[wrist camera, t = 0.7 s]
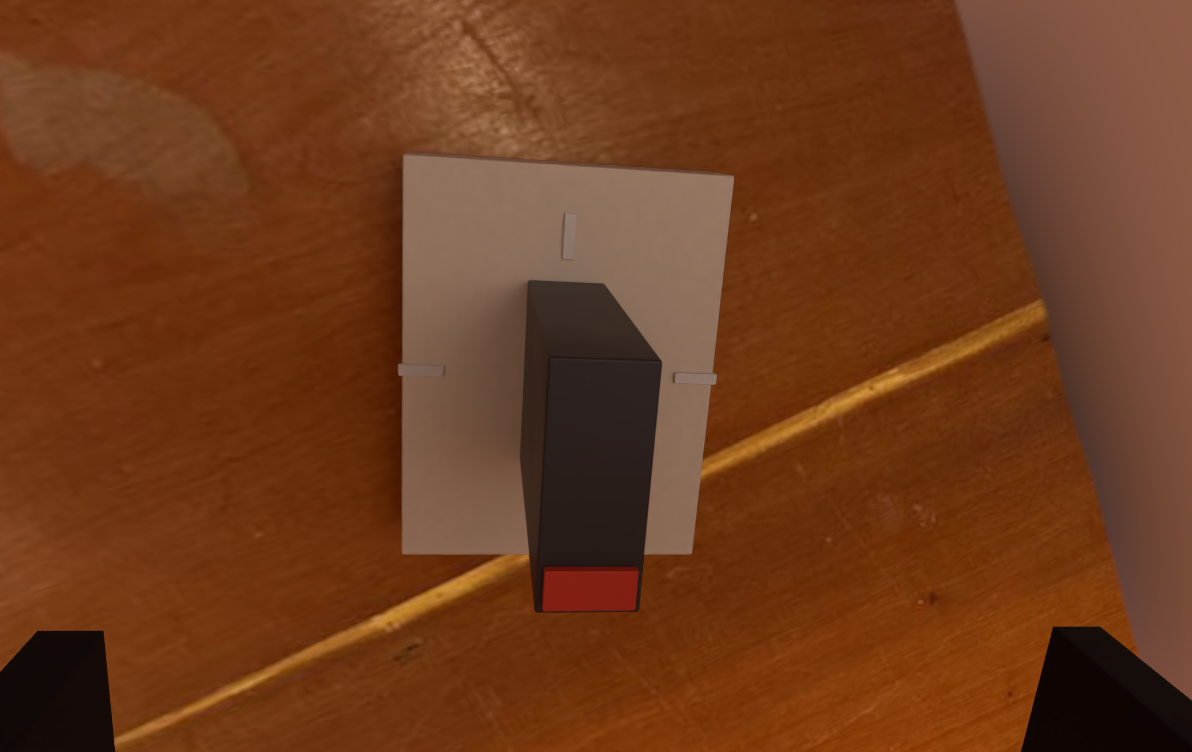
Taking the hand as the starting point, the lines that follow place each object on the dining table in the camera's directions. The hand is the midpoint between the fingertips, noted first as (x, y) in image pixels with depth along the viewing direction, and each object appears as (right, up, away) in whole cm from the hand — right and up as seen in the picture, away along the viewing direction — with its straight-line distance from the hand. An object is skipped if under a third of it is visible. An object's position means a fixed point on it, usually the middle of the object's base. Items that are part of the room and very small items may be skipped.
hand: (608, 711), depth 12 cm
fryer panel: (-2, +5, +17) cm, 18 cm away
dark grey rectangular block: (-1, +5, +15) cm, 16 cm away
